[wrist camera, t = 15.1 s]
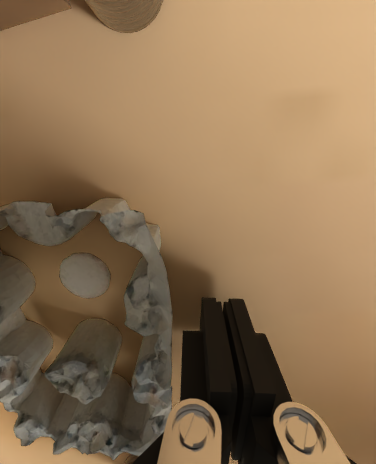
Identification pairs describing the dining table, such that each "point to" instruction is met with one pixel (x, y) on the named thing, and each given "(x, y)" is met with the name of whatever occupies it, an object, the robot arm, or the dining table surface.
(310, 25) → the dining table surface
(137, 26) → the gate posts
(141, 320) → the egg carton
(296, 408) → the robot arm
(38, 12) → the gate
